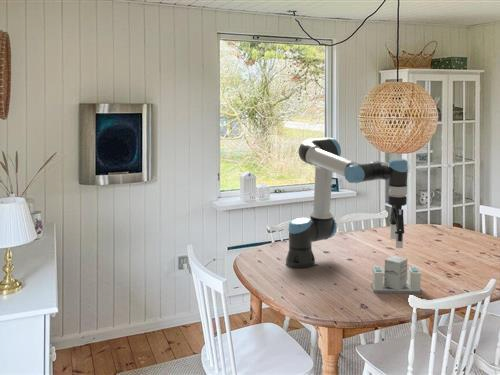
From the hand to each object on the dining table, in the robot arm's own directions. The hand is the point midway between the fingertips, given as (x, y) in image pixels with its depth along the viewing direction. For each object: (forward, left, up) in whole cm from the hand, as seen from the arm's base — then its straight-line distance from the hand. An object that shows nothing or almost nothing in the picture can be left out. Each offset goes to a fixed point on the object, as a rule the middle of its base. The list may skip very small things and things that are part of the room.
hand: (396, 243), depth 204 cm
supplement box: (0, 0, -20) cm, 20 cm away
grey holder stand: (+1, 0, -21) cm, 21 cm away
